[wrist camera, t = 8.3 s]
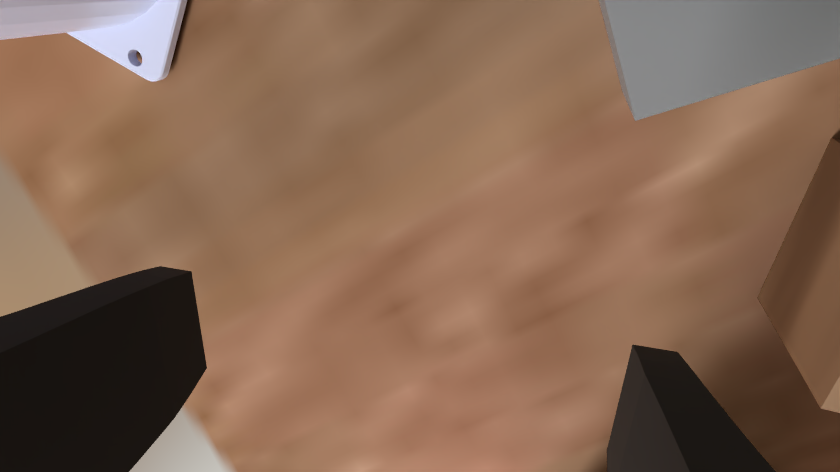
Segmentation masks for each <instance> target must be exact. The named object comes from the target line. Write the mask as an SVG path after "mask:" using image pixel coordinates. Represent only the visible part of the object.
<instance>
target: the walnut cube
mask: <svg viewBox="0 0 840 472" xmlns="http://www.w3.org/2000/svg"><path fill="white" fill-rule="evenodd" d="M757 298H758V300H759V301H760V303H761V305H762V307H763V308H764V310H765V312H766V314H767V315H768V317H769V319H770V321H771V322H772V324H773V326H774V328H775V329H776V331H777V333H778V335H779V336H780V338H781V340H782V342H783V343H784V345H785V347H786V349H787V350H788V352H789V354H790V356H791V357H792V359H793V361H794V363H795V364H796V366H797V368H798V370H799V371H800V373H801V375H802V377H803V378H804V380H805V382H806V384H807V385H808V387H809V389H810V391H811V392H812V394H813V396H814V398H815V399H816V401H817V403H818V405H819V406H820V408H821V409H825V410H829V411H833V412H837V413H840V139H834V138H831V140H830V142H829V144H828V146H827V149H826V151H825V153H824V155H823V157H822V159H821V162H820V164H819V166H818V168H817V170H816V172H815V174H814V177H813V179H812V181H811V183H810V185H809V187H808V190H807V192H806V194H805V196H804V198H803V200H802V203H801V205H800V207H799V209H798V211H797V213H796V215H795V218H794V220H793V222H792V224H791V226H790V228H789V231H788V233H787V235H786V237H785V239H784V241H783V244H782V246H781V248H780V250H779V252H778V254H777V256H776V259H775V261H774V263H773V265H772V267H771V269H770V272H769V274H768V276H767V278H766V280H765V282H764V285H763V287H762V289H761V291H760V293H759V295H758V297H757Z"/></svg>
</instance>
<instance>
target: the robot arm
mask: <svg viewBox="0 0 840 472" xmlns="http://www.w3.org/2000/svg"><path fill="white" fill-rule="evenodd" d="M186 4H187V0H0V40H3V39H12V38H21V37H30V36H39V35H48V34H56V33H65V32H66V33H68V34H69V35H71V36H73V37H74V38H76V39H78V40H80V41H81V42H83V43H85V44H86V45H88V46H90V47H92V48H93V49H95V50H97V51H98V52H100V53H102V54H103V55H105V56H107V57H109V58H110V59H112V60H114V61H115V62H117V63H119V64H121V65H122V66H124V67H126V68H127V69H129V70H131V71H133V72H134V73H136V74H138V75H139V76H141V77H143V78H145V79H146V80H149V81H159V80H162V79H164V78H165V77H167V75H168V73H169V70H170V66H171V62H172V58H173V54H174V50H175V47H176V43H177V39H178V35H179V31H180V27H181V23H182V19H183V15H184V11H185V8H186ZM137 51H138V52H139V53H140V54H141V56H142V64H141V63H140V62H139V61H138V59H137V56H136V52H137ZM206 368H207V366H206V360H205V354H204V348H203V341H202V335H201V329H200V323H199V316H198V310H197V304H196V298H195V291H194V285H193V279H192V272H191V271H185V270H179V269H173V268H167V267H161V266H160V267H155V268H151V269H147V270H143V271H139V272H135V273H132V274H128V275H125V276H122V277H119V278H115V279H112V280H109V281H106V282H103V283H100V284H97V285H94V286H91V287H88V288H85V289H82V290H79V291H76V292H73V293H70V294H67V295H64V296H61V297H58V298H55V299H52V300H49V301H47V302H44V303H41V304H38V305H35V306H32V307H29V308H26V309H23V310H20V311H17V312H14V313H11V314H8V315H5V316H1V317H0V472H129V471H130V470H131V469H132V468H133V466H134V465H135V464H136V463H137V462H138V461H139V459H140V458H141V457H142V456H143V455H144V453H145V452H146V451H147V450H148V449H149V448H150V447H151V445H152V444H153V443H154V442H155V441H156V439H157V438H158V437H159V436H160V434H162V432H163V431H164V430H165V429H166V428H167V426H168V425H169V424H170V423H171V421H172V420H173V419H174V418H175V416H176V415H177V413H178V412H179V410H180V409H181V408H182V406H183V405H184V403H185V402H186V400H187V399H188V397H189V396H190V394H191V393H192V391H193V389H194V388H195V386H196V385H197V383H198V381H199V380H200V378H201V376H202V375H203V373H204V372H205V370H206ZM607 472H775V470H774V469H773V468H772V467H771V466H770V465H769V463H768V462H767V461H766V460H765V459H764V458H763V457H762V455H761V454H760V453H759V452H758V451H757V450H756V448H755V447H754V446H753V445H752V444H751V442H750V441H749V440H748V439H747V438H746V437H745V435H744V434H743V433H742V432H741V430H740V429H739V428H738V427H737V426H736V424H735V423H734V422H733V421H732V420H731V418H730V417H729V416H728V415H727V413H726V412H725V411H724V410H723V408H722V407H721V406H720V405H719V403H718V402H717V401H716V400H715V398H714V397H713V396H712V395H711V393H710V392H709V391H708V390H707V388H706V387H705V386H704V385H703V383H702V382H701V381H700V379H699V378H698V377H697V376H696V374H695V373H694V372H693V371H692V369H691V368H690V367H689V366H688V364H687V363H686V362H685V361H684V359H683V358H682V357H681V356H680V354H679V353H678V352H674V351H668V350H662V349H656V348H650V347H644V346H638V345H632V349H631V354H630V358H629V362H628V366H627V370H626V374H625V378H624V382H623V387H622V391H621V395H620V399H619V403H618V407H617V411H616V415H615V420H614V424H613V428H612V432H611V436H610V440H609V444H608V448H607Z"/></svg>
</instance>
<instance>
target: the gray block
mask: <svg viewBox="0 0 840 472" xmlns="http://www.w3.org/2000/svg"><path fill="white" fill-rule="evenodd" d="M599 3H600V7H601V11H602V14H603V18H604V22H605V26H606V30H607V34H608V38H609V42H610V45H611V49H612V53H613V57H614V61H615V65H616V69H617V72H618V76H619V80H620V84H621V88H622V91H623V94H624V96H625V98H626V101H627V103H628V105H629V108H630V110H631V112H632V114H633V117H634V119H635V121H636V120H639V119H642V118H646V117H649V116H652V115H656V114H659V113H662V112H665V111H669V110H672V109H675V108H679V107H682V106H685V105H688V104H692V103H695V102H698V101H702V100H705V99H708V98H711V97H715V96H718V95H721V94H724V93H728V92H731V91H734V90H738V89H741V88H744V87H747V86H751V85H754V84H757V83H761V82H764V81H767V80H770V79H774V78H777V77H780V76H784V75H787V74H790V73H793V72H797V71H800V70H803V69H806V68H810V67H813V66H816V65H820V64H823V63H826V62H829V61H833V60H836V59H839V58H840V0H599Z"/></svg>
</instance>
